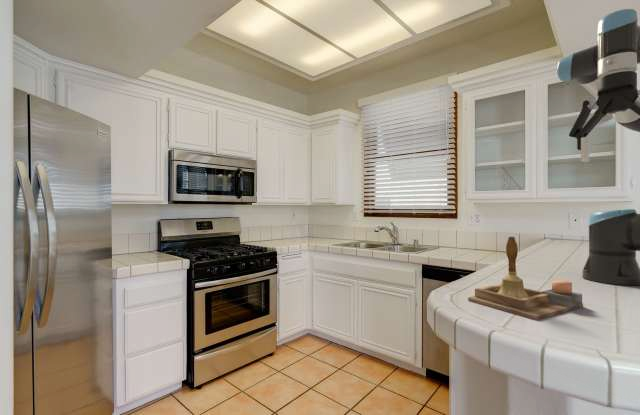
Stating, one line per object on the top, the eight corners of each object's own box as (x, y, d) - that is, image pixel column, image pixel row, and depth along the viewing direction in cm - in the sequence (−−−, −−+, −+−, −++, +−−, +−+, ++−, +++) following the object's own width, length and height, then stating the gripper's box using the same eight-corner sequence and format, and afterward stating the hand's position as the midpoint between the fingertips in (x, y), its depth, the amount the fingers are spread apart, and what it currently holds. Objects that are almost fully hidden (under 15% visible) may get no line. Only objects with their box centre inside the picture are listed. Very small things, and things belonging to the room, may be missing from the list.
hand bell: (511, 304, 79) (511, 238, 79) (487, 295, 88) (487, 235, 87) (540, 302, 81) (540, 237, 81) (513, 293, 89) (513, 235, 89)
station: (514, 291, 96) (514, 279, 96) (583, 306, 81) (583, 293, 81) (468, 300, 86) (468, 288, 86) (536, 320, 71) (536, 305, 71)
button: (557, 289, 84) (557, 279, 84) (575, 292, 81) (575, 282, 81) (548, 290, 82) (548, 281, 82) (566, 294, 79) (566, 284, 79)
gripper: (554, 88, 94) (554, 163, 94) (681, 52, 72) (681, 150, 72) (568, 92, 97) (568, 164, 97) (693, 59, 75) (693, 152, 75)
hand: (616, 158), depth 84 cm, fingers open, 13 cm apart
